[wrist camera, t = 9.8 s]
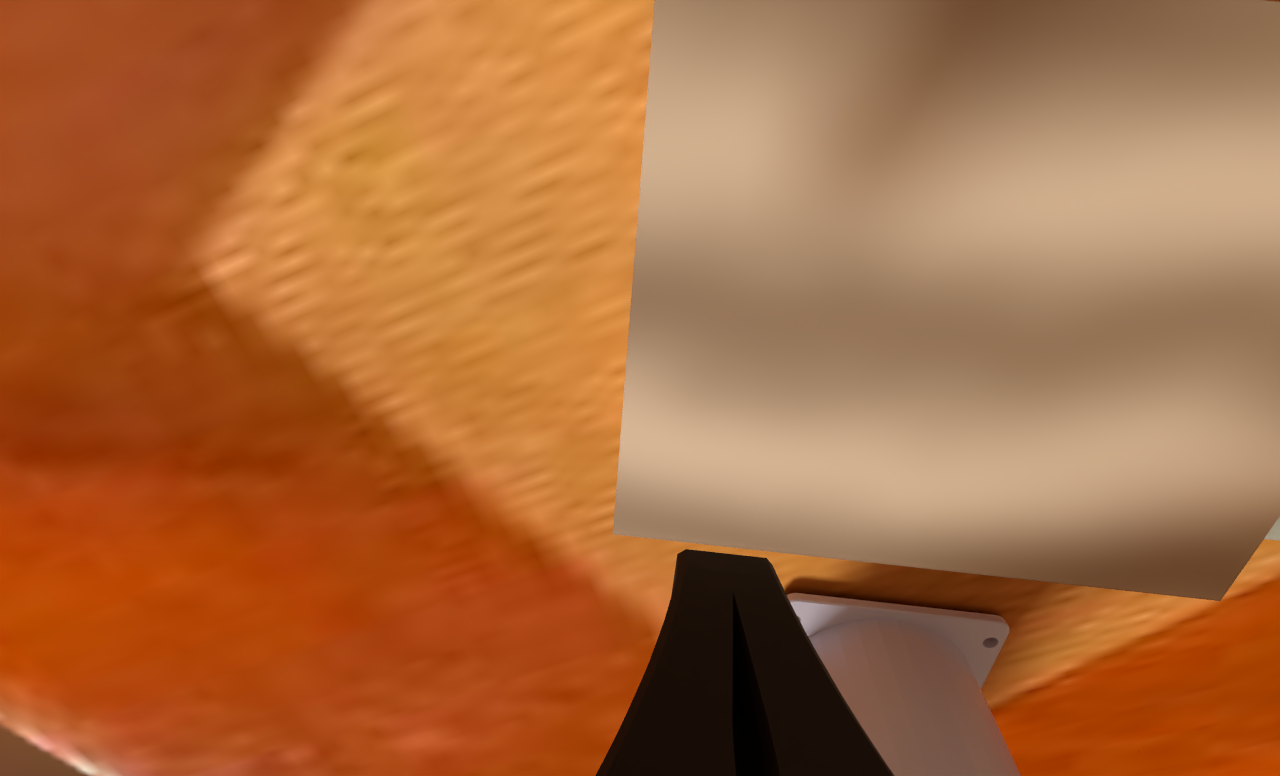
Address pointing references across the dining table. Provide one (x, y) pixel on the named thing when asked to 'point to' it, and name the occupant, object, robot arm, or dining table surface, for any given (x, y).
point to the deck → (961, 286)
